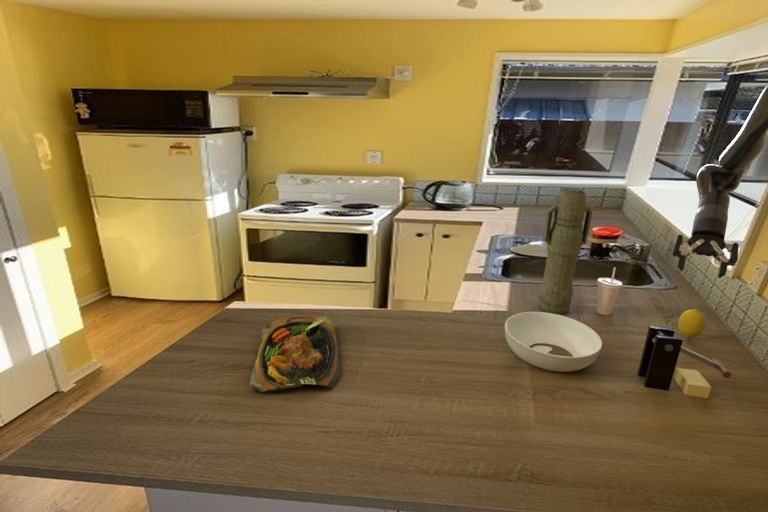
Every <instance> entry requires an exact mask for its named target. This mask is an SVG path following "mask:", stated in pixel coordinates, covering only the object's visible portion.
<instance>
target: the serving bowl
mask: <svg viewBox="0 0 768 512" xmlns="http://www.w3.org/2000/svg"><path fill="white" fill-rule="evenodd" d="M504 335H505V340H506V342H507V344H508V346H509V347H510V349H511V350H512V351H513V353H514V354H515V355H516V356H517V357H518V358H520V359H521V360H523V361H524V362H526V363H527V364H530V365H532V366H534V367H537V368H539V369H542V370H546V371H551V372H560V373H566V372H567V373H568V372H576V371H579V370H582V369H585V368H587V367H588V366H590V365H592V364H593V363H594V362H595V361H596V360H597V358H598V357H599V355H600V354H601V350H602V348H603V341H602V339H601V337H600V335H599V334H598V333H597V332H596V331H595V330H594V329H593V328H591V327H590V326H588V325H586V324H585V323H582V322H581V321H579V320H576V319H574V318H572V317H568V316H564V315H562V314H553V313H549V312H546V311H524V312H519V313H516V314H513V315H511V316H509V317H508V318H507V319H506V320H505V323H504ZM534 344H535V346H534ZM536 344H546V345H547V344H548V345H552V346H557V347H560V348H562V349H564V350H565V351H567V352H568V353H569V354H571V355H572V356H565V355H557V354H551V353H550V352H551V351H553V348H552V347H550V346H546V345H536ZM532 345H533V346H532ZM530 346H532V347H530Z"/></svg>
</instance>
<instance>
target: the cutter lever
mask: <svg viewBox="0 0 768 512" xmlns="http://www.w3.org/2000/svg"><path fill="white" fill-rule="evenodd" d="M656 335H660V336H667V337H671V336H669V335H667V334H665V333H663V332H660V331H658V332H657V333H656ZM656 335H655V336H654V337H653V339H652V341H653V342H655V338H656ZM680 353H681V354H684V355H685V356H687V357H690V358H692V359H694V360H695V361H698V362H701V363H703V364H704V365H706V366H709V367H711V368H713V369H715V370H716V371H718V373H720V374H721V376H722V377H723V378H725V379H730V378H731V377H732V372H731V371H730V370H729V369H728V368H727V367H726V366H725V364H723V363H722V361H720V359H719V358H716V357H715V358H712V359H710V358H709V357H706V356H704V355H701V354H699V353H698V352H695V351H693V350H691V349H689V348H687V347H684V346H683V345H682V346H681V349H680Z"/></svg>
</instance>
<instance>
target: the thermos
mask: <svg viewBox="0 0 768 512" xmlns="http://www.w3.org/2000/svg"><path fill="white" fill-rule="evenodd" d="M587 201H588V200H587V196H586V192H585V191H584V190H582V189H580V188H579V189H578V188H568V187H567V188H563V189H561V190H560V192H559V194H558V196H557V198H556V201H555V205H552V206H550V207H549V208H548V210H547V211H546V217H545V224H544V230H543V238H542V240H543V241H544V242H545V243H546V251H547V254H546V261H545V266H544V274H543V280H542V282H541V283H540V287H539V292H538V303H537V307H538V308H539V310H542V311H543V312H545V313H552V314H557V315H565V314H568V313H569V312H570V306H571V303H572V300H573V295H574V294H573V293H574V287H573V283H574V277H575V272H576V266H577V261H578V260H577V259H578V257H579V255H580V254H581V249H582V247H583V245H586V244H587V241H588V237H589V232H590V228H591V222H592V217H593V212H592V209H591V208H590V207H588V206H587V203H588V202H587ZM553 217H554V218H553ZM583 221H584V223H583Z"/></svg>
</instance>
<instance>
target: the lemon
mask: <svg viewBox="0 0 768 512" xmlns="http://www.w3.org/2000/svg"><path fill="white" fill-rule="evenodd" d="M677 326H678V330H679V331H680V333H681V334H683V335H684V336H685V337H686V338H688V339H690V338H691V337H698V336H699V335H701V334H702V333H703V332H704V330H705V328H706V317H705V316H704V314H703V313H702V312H700V311H699V310H698V309H696V308H694V309H688V310H685V311H683V313H682V314H680V317H679V319H678V323H677Z"/></svg>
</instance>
